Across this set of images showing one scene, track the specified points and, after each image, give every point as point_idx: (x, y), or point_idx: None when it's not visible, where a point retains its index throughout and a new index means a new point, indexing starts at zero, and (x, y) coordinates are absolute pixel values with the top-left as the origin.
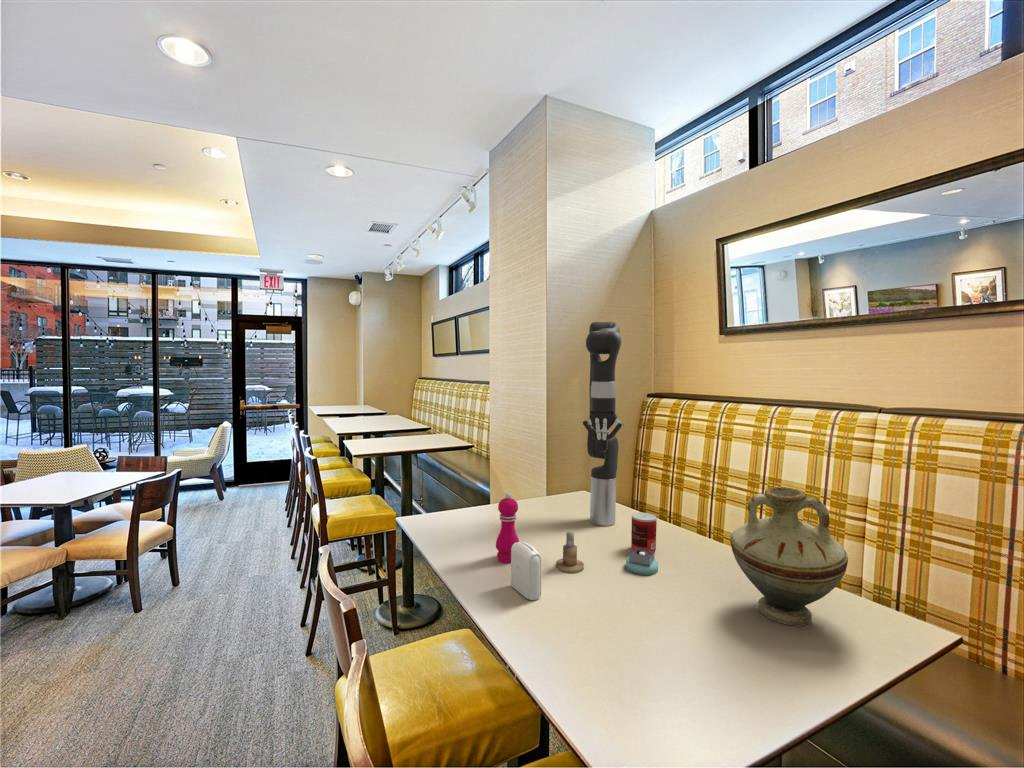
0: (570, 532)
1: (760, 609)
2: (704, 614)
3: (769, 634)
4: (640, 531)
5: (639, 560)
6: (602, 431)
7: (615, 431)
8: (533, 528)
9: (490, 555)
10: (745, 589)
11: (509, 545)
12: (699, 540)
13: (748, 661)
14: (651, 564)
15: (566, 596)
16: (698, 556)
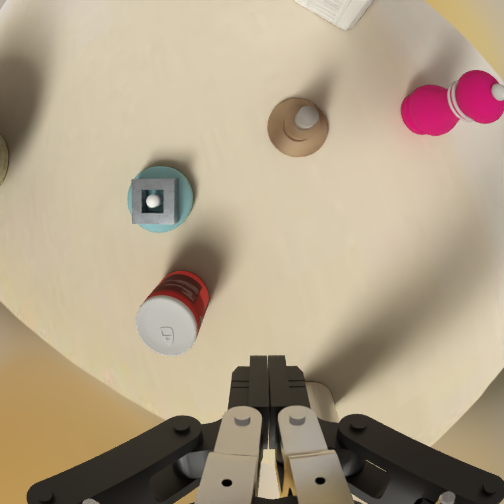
0: (309, 119)
1: (4, 145)
2: (57, 91)
3: (5, 98)
4: (171, 285)
5: (155, 178)
6: (281, 497)
7: (110, 459)
8: (430, 297)
9: None
10: (22, 209)
11: (422, 87)
12: (116, 382)
13: (29, 31)
14: None
15: (256, 20)
16: (94, 309)
